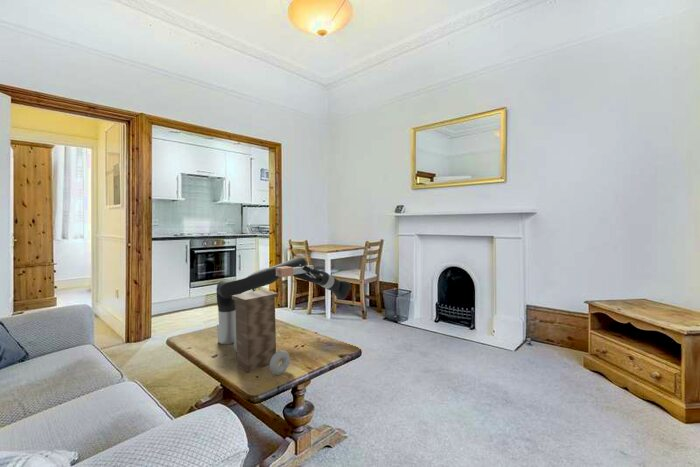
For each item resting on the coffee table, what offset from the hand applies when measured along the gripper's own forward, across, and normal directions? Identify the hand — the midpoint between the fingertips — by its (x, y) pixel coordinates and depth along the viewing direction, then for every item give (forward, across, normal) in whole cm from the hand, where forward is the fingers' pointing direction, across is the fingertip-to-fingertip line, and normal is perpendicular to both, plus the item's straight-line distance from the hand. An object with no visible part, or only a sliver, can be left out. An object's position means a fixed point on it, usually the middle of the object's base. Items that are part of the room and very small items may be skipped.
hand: (301, 266), depth 167 cm
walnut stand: (+2, 0, -49) cm, 49 cm away
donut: (+1, -16, -48) cm, 51 cm away
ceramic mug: (-1, +15, -48) cm, 50 cm away
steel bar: (+2, 0, -4) cm, 5 cm away
